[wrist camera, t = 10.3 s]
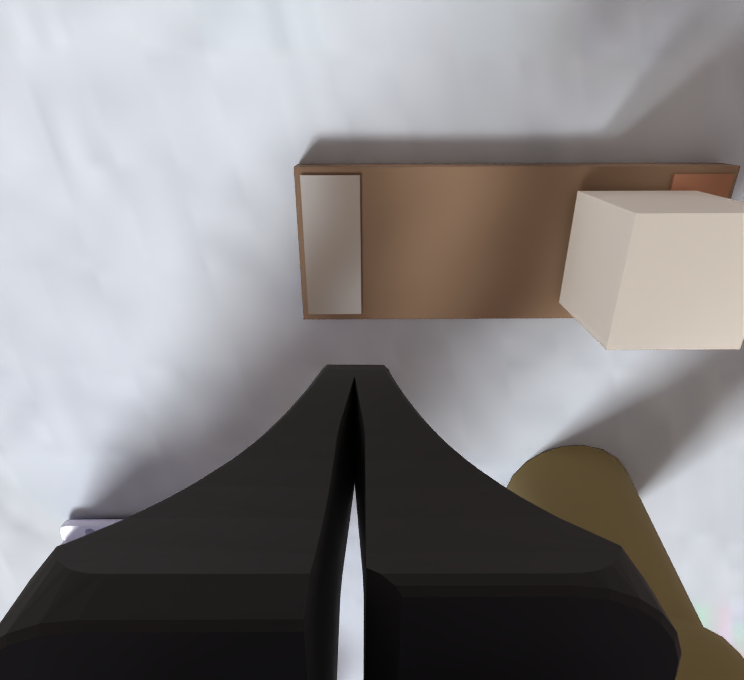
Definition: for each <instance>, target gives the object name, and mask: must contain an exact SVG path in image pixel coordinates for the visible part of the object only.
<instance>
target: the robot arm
mask: <svg viewBox="0 0 744 680" xmlns="http://www.w3.org/2000/svg"><path fill="white" fill-rule="evenodd" d="M354 485H355V491H356V503H357V514H358V526H359V537H360V548H361V560H362V571H363V589H364V680H675V678H676V676H677V672H678V668H679V663H680V659H681V654H682V653H681V648H680V643H679V638H678V634H677V631H676V630H675V628H674V626H673V625H672V623H671V621H670V620H669V618H668V616H667V615H666V613H665V611H664V610H663V608H662V606H661V605H660V603H659V601H658V599H657V598H656V596H655V594H654V593H653V591H652V590H651V588H650V586H649V585H648V583H647V582H646V580H645V578H644V577H643V576H642V574H641V573H640V572H639V570H638V569H637V567H636V566H635V565H634V563H633V562H632V561H631V559H630V558H629V556H628V555H627V554H626V552H625V551H624V549H623V548H622V546H620V545H618V544H616V543H614V542H611V541H609V540H607V539H605V538H603V537H600V536H598V535H596V534H594V533H592V532H589V531H587V530H585V529H583V528H581V527H578V526H576V525H574V524H572V523H570V522H567V521H565V520H563V519H561V518H559V517H557V516H555V515H553V514H551V513H549V512H547V511H545V510H544V509H542V508H540V507H538V506H536V505H535V504H533V503H531V502H529V501H527V500H525V499H524V498H522V497H520V496H519V495H517V494H515V493H514V492H512V491H510V490H509V489H507V488H505V487H504V486H502V485H501V484H499V483H498V482H496V481H495V480H493V479H492V478H491V477H489V476H488V475H486V474H485V473H483V472H482V471H480V470H479V469H477V468H476V467H475V466H474V465H472V464H471V463H470V462H468V461H467V460H466V459H464V458H463V457H462V456H461V455H460V454H459V453H457V452H456V451H455V450H454V449H453V448H451V447H450V446H449V445H448V444H447V443H446V442H445V441H444V440H443V439H442V438H441V437H440V436H439V435H438V434H437V433H436V432H435V431H434V430H433V429H432V428H431V427H430V426H429V425H428V424H427V423H426V421H425V420H424V419H423V418H422V417H421V416H420V415H419V413H418V412H417V411H416V410H415V408H414V407H413V406H412V404H411V403H410V402H409V401H408V399H407V398H406V397H405V395H404V394H403V393H402V391H401V390H400V388H399V387H398V385H397V384H396V382H395V381H394V379H393V377H392V375H391V374H390V372H389V370H388V369H387V368H386V367H385V366H384V365H326V366H325V367H324V368H323V369H322V370H321V372H320V373H319V375H318V376H317V377H316V379H315V380H314V381H313V383H312V384H311V385H310V386H309V388H308V389H307V390H306V391H305V393H304V394H303V395H302V396H301V397H300V398H299V399H298V401H297V402H296V403H295V404H294V405H293V406H292V407H291V408H290V410H289V411H288V412H287V413H286V414H285V415H284V416H283V417H282V418H281V419H280V420H279V421H278V422H277V423H276V424H274V425H273V426H272V427H271V428H270V429H269V430H268V431H267V432H266V433H265V434H264V435H263V436H262V437H261V438H259V439H258V440H257V441H256V442H255V443H254V444H252V445H251V446H250V447H248V448H247V449H246V450H244V451H243V452H242V453H241V454H239V455H238V456H236V457H235V458H234V459H232V460H231V461H229V462H228V463H226V464H225V465H223V466H221V467H220V468H218V469H217V470H215V471H214V472H212V473H210V474H209V475H207V476H206V477H204V478H203V479H201V480H199V481H198V482H196V483H195V484H193V485H191V486H189V487H188V488H186V489H184V490H182V491H180V492H178V493H177V494H175V495H173V496H171V497H169V498H167V499H165V500H163V501H161V502H159V503H157V504H155V505H153V506H151V507H149V508H147V509H145V510H143V511H141V512H139V513H137V514H135V515H132V516H130V517H128V518H126V519H93V520H67V521H65V522H64V523H63V525H62V526H61V528H60V534H61V536H62V539H63V543H62V544H61V545H60V546H57V547H56V548H55V549H54V551H53V552H52V553H51V554H50V556H49V557H48V558H47V559H46V561H45V562H44V563H43V564H42V566H41V567H40V568H39V569H38V571H37V572H36V573H35V574H34V576H33V577H32V578H31V579H30V581H29V582H28V584H27V585H26V587H25V588H24V590H23V591H22V592H21V594H20V595H19V597H18V598H17V600H16V601H15V602H14V604H13V605H12V607H11V608H10V610H9V611H8V612H7V614H6V615H5V617H4V618H3V620H2V621H1V622H0V680H337V661H338V636H339V612H340V594H341V583H342V573H343V566H344V559H345V551H346V544H347V537H348V529H349V522H350V515H351V507H352V500H353V492H354ZM92 529H93V530H92Z"/></svg>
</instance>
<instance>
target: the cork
mask: <svg viewBox="0 0 744 680" xmlns="http://www.w3.org/2000/svg"><path fill="white" fill-rule="evenodd" d="M507 489H509V490H510V491H512V492H514V493H515V494H517V495H519V496H520V497H522V498H524V499H525V500H527V501H529V502H531V503H533V504H535V505H536V506H538V507H540V508H542V509H544V510H545V511H547V512H549V513H551V514H553V515H555V516H557V517H559V518H561V519H563V520H565V521H567V522H570V523H572V524H574V525H576V526H578V527H581V528H583V529H585V530H587V531H589V532H592V533H594V534H596V535H598V536H600V537H603V538H605V539H607V540H609V541H611V542H614V543H616V544H618V545H620V546H622V548H623V549H624V551H625V552H626V554H627V555H628V556H629V558H630V559H631V561H632V562H633V563H634V565H635V566H636V567H637V569H638V570H639V572H640V573H641V574H642V576H643V577H644V578H645V580H646V582H647V583H648V585H649V586H650V588H651V590H652V591H653V593H654V594H655V596H656V598H657V599H658V601H659V603H660V605H661V606H662V608H663V610H664V611H665V613H666V615H667V616H668V618H669V620H670V621H671V623H672V625H673V626H674V628H675V630H676V631H677V634H678V638H679V643H680V648H681V653H682V654H681V659H680V663H679V668H678V672H677V676H676V678H675V680H744V658H743V657H742V656H741V654H740V653H739V652H738V651H737V650H736V649H735V648H734V647H733V646H732V645H730V644H729V643H728V642H727V641H726V640H725V639H724V638H723V637H722V636H720V635H718V634H716V633H714V632H712V631H710V630H708V629H706V628H704V627H703V625H702V623H701V621H700V619H699V617H698V615H697V613H696V611H695V609H694V607H693V605H692V603H691V601H690V599H689V597H688V595H687V593H686V591H685V589H684V587H683V585H682V583H681V580H680V578H679V576H678V574H677V572H676V570H675V568H674V566H673V564H672V562H671V560H670V558H669V556H668V554H667V552H666V550H665V548H664V546H663V544H662V542H661V540H660V538H659V536H658V534H657V532H656V530H655V528H654V526H653V523H652V521H651V519H650V517H649V515H648V513H647V511H646V509H645V507H644V505H643V503H642V501H641V499H640V497H639V495H638V493H637V491H636V489H635V487H634V485H633V483H632V481H631V479H630V477H629V475H628V473H627V471H626V469H625V468H624V467H623V465H622V464H621V463H620V461H619V460H618V459H617V458H616V457H614V456H612V455H611V454H609V453H608V452H606V451H604V450H602V449H598V448H593V447H589V446H585V445H580V446H563V447H559V448H556V449H553V450H549V451H546V452H543V453H541V454H539V455H538V456H536V457H534V458H533V459H531V460H529V461H528V462H526V463H525V464H524V465H523V466H522V467H521V468H520V469H519V470H518V471H517V472H516V473H515V474H514V475H513V476H512V478H511V480H510V482H509V484H508V486H507Z"/></svg>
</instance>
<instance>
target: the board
mask: <svg viewBox="0 0 744 680" xmlns="http://www.w3.org/2000/svg"><path fill="white" fill-rule="evenodd" d="M739 168H740V166H737V165H730V164H723V163H593V164H297V165H296V166H295V167H294V177H295V192H296V208H297V223H298V238H299V254H300V269H301V285H302V300H303V316H304V319H479V318H574V317H573V316H572V315H571V314H570V313H569V312H568V311H567V310H566V309H565V308H564V307H563V306H562V305H561V304H560V303H559V299H560V293H561V287H562V281H563V275H564V269H565V263H566V257H567V251H568V245H569V240H570V234H571V228H572V222H573V216H574V210H575V204H576V198H577V192H578V191H700V192H704V193H708V194H712V195H716V196H720V197H724V198H728V199H731V196H732V192H733V189H734V185H735V182H736V179H737V175H738V172H739Z"/></svg>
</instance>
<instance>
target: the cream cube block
mask: <svg viewBox="0 0 744 680" xmlns="http://www.w3.org/2000/svg"><path fill="white" fill-rule="evenodd" d="M559 303H560V304H561V305H562V306H563V307H564V308H565V309H566V310H567V311H568V312H569V313H570V314H571V315H572V316H573V317H574V318H575V319H576V320H577V321H578V322H579V323H580V324H581V325H582V326H583V327H584V328H585V329H586V330H587V331H588V332H589V333H590V334H591V335H592V336H593V337H594V338H595V339H596V340H597V341H598V342H599V343H600V344H601V345H602V346H603V347H604V348H605V349H606V350H687V349H740V348H741V345H742V342H743V339H744V202H741V201H737V200H732V199H728V198H724V197H720V196H716V195H712V194H708V193H704V192H700V191H578V192H577V198H576V204H575V210H574V216H573V222H572V228H571V234H570V240H569V245H568V251H567V257H566V263H565V269H564V275H563V281H562V287H561V293H560V299H559Z"/></svg>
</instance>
